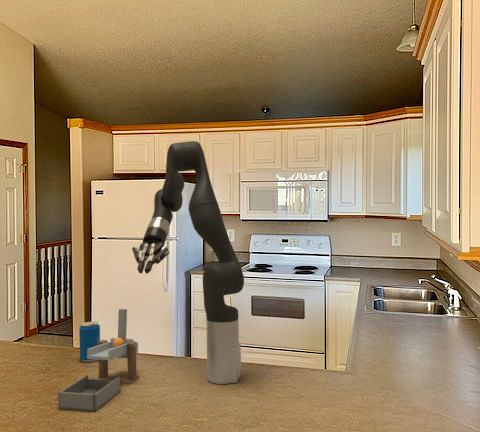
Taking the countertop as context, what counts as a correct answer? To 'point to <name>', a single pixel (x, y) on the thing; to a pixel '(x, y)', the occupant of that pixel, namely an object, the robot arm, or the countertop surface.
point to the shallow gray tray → (88, 394)
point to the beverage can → (88, 339)
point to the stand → (130, 361)
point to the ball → (118, 342)
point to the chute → (107, 349)
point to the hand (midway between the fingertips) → (143, 271)
